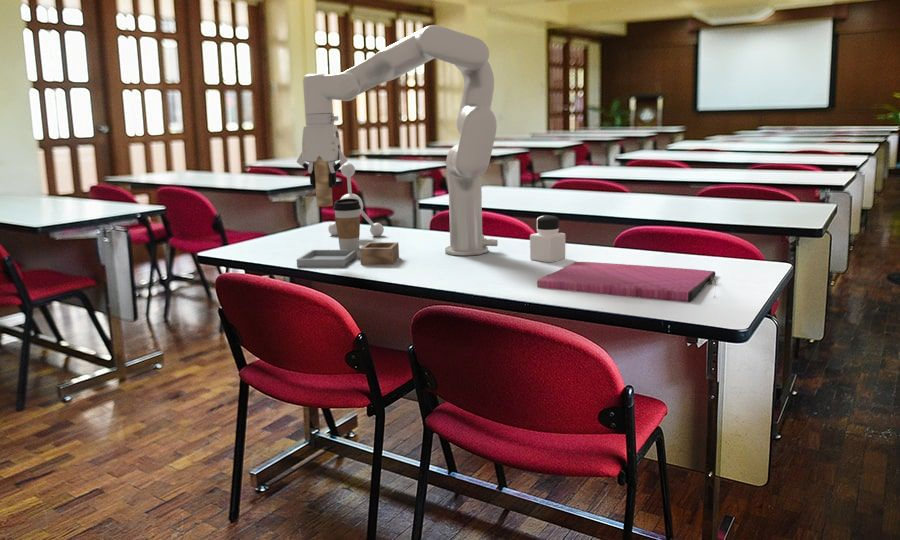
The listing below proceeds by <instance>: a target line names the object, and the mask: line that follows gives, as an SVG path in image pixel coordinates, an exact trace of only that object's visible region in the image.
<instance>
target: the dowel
mask: <svg viewBox="0 0 900 540" xmlns="http://www.w3.org/2000/svg"><path fill="white" fill-rule="evenodd" d="M314 170H315V186H316V187H315V196H316V197H315V199H316V207H323V208H324V207H332V206H333V188H330V187H329V173H330V168H329V165H328V162H324V161H323V160H322V158H321V157H320V156H318V158H317V160H316V162H314Z"/></svg>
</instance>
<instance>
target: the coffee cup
mask: <svg viewBox="0 0 900 540" xmlns="http://www.w3.org/2000/svg"><path fill="white" fill-rule="evenodd" d="M360 209H361V206H360V204H359V200H358V199H341V198H340V199H337V200H336V201H334V206H333V211H334V220H335V221H334V222H336V227H337V233H338V235H337V238H338V244H339V245H338V246H339V250H356V249H357V250H358V249H359V250H360V231H361V214H360Z"/></svg>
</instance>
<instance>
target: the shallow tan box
mask: <svg viewBox="0 0 900 540" xmlns="http://www.w3.org/2000/svg"><path fill="white" fill-rule="evenodd" d="M399 244H400V243H399V241H398V242H396V241H395V242H391V241H390V242H387V241H386V242H384V241H383V242H382V241H381V242H380V241H379V242H378V241H377V242H371V241H370V242H369V241H368V242H367V243H365V244H364V245H363V246H361V247H359V256H360V257H359V258H360V259H359V260H360V265H394V264H395V263H396V262H397V260H399V259H400V250H399V249H400V247H399Z"/></svg>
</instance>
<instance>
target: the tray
mask: <svg viewBox="0 0 900 540" xmlns="http://www.w3.org/2000/svg"><path fill="white" fill-rule="evenodd" d="M357 258H358V249H357V250H340V249H311V250H310V251H308V252H306V253H305V254H303V255H302V256H299V257H298V258H297V259H296V267H297V268H298V267H299V268H346V267H347V266H348V265H349V264H350V263H351V262H353V261H354V260H355V259H357ZM300 266H301V267H300ZM303 266H305V267H303ZM306 266H307V267H306Z"/></svg>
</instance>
